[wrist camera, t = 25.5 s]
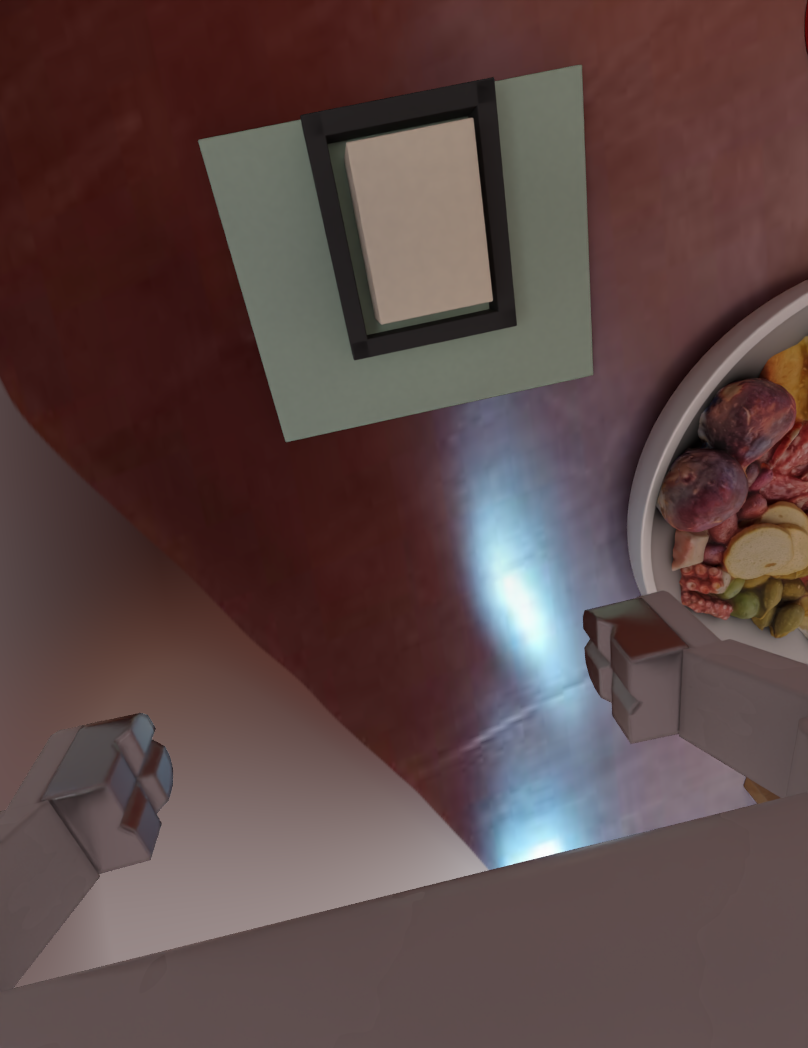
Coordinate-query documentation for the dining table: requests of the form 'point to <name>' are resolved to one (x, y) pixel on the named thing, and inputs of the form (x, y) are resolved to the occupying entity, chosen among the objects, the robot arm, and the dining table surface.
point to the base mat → (339, 273)
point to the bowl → (733, 485)
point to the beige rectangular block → (420, 220)
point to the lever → (806, 27)
